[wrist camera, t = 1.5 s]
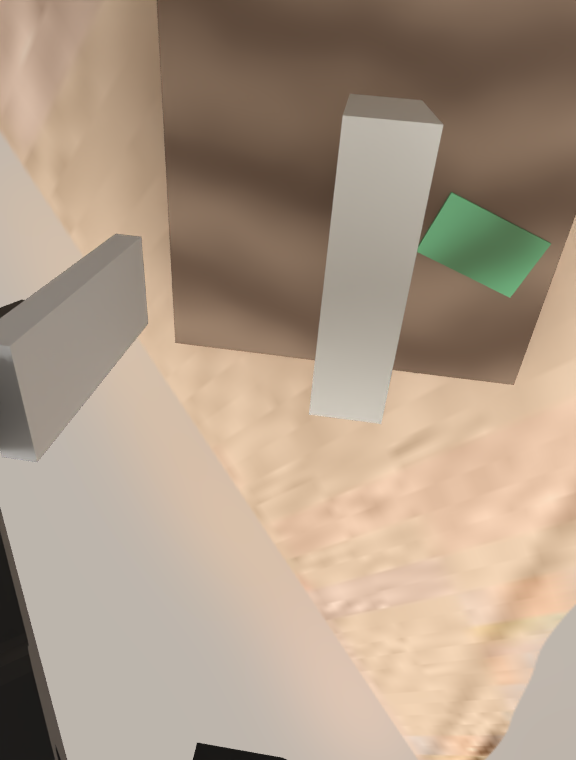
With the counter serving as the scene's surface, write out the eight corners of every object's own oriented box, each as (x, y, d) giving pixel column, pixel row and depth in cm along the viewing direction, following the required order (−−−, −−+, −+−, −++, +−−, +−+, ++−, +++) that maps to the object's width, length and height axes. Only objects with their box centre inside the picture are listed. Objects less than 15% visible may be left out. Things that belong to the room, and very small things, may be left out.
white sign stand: (354, 80, 23) (342, 115, 13) (409, 85, 23) (443, 124, 13) (322, 348, 31) (298, 509, 20) (363, 353, 30) (361, 518, 20)
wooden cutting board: (167, -88, 23) (149, -99, 21) (652, -55, 21) (678, -64, 20) (185, 327, 34) (174, 344, 32) (506, 367, 32) (514, 386, 30)
